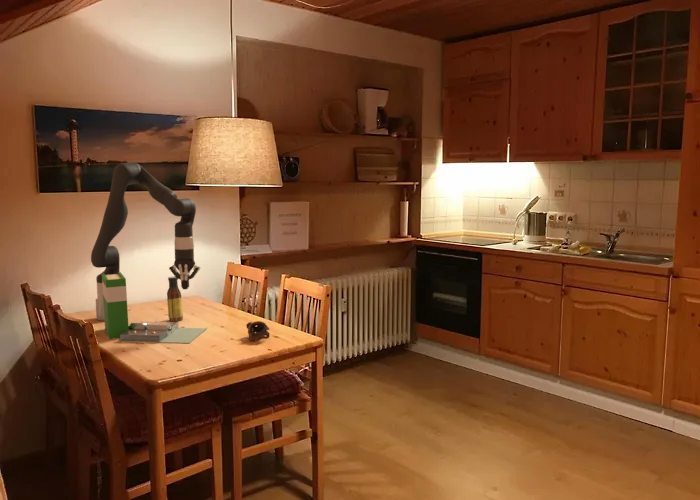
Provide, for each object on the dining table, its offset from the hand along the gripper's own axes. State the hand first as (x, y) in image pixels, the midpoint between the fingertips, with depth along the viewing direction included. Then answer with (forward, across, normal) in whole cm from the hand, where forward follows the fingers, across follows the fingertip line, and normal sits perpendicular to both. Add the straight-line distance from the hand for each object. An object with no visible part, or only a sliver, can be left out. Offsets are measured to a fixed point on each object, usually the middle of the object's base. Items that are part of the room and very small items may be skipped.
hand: (185, 288), depth 245 cm
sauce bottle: (+19, -12, +20) cm, 30 cm away
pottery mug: (+19, +31, -6) cm, 37 cm away
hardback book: (+19, -29, -3) cm, 35 cm away
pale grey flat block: (+18, -13, -1) cm, 23 cm away
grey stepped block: (+18, -14, -9) cm, 24 cm away
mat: (+19, -7, -5) cm, 21 cm away
